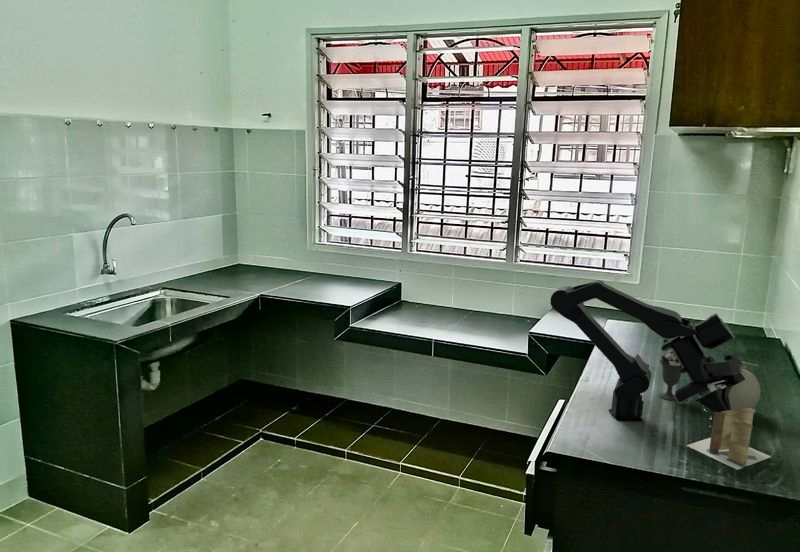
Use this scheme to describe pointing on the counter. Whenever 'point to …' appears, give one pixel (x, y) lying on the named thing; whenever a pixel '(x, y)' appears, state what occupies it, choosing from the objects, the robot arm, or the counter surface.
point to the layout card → (722, 455)
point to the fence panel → (730, 415)
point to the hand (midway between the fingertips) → (731, 421)
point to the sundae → (670, 374)
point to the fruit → (745, 391)
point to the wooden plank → (732, 438)
